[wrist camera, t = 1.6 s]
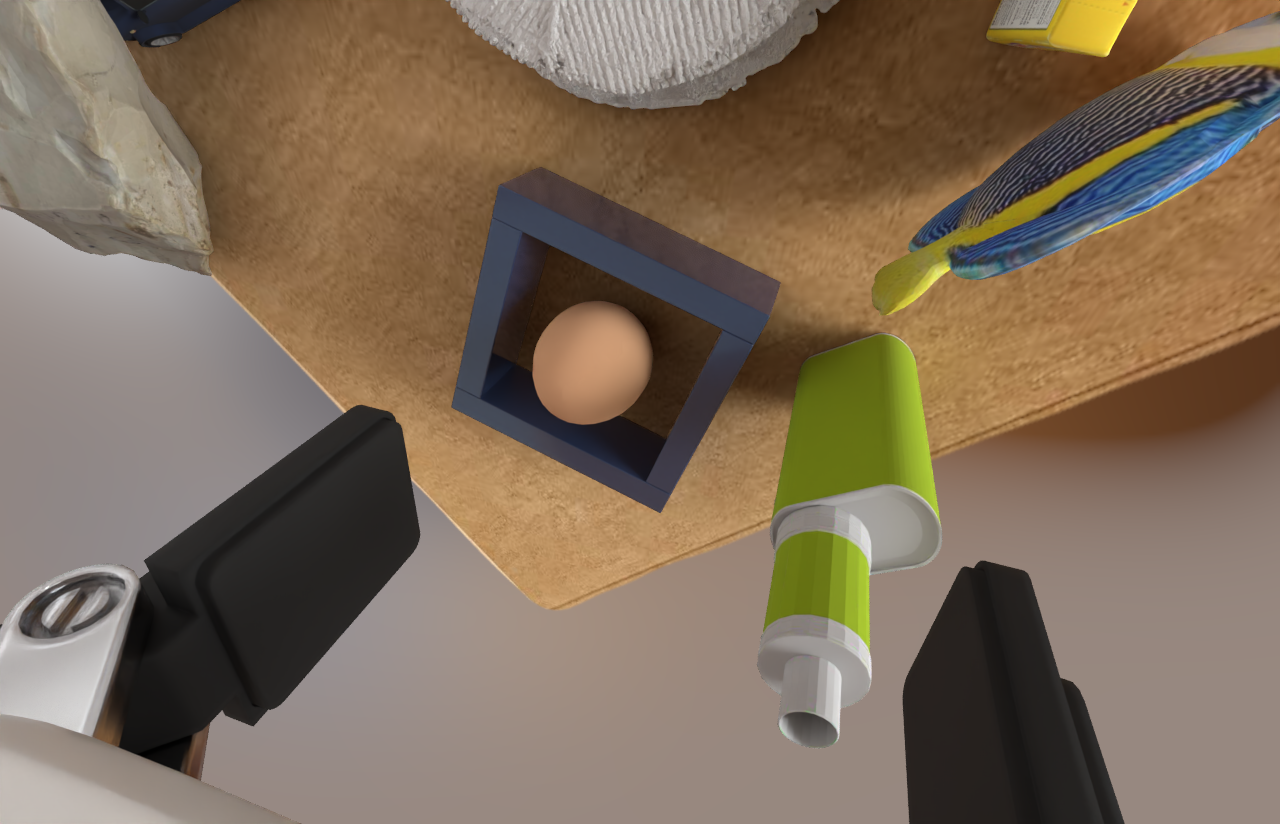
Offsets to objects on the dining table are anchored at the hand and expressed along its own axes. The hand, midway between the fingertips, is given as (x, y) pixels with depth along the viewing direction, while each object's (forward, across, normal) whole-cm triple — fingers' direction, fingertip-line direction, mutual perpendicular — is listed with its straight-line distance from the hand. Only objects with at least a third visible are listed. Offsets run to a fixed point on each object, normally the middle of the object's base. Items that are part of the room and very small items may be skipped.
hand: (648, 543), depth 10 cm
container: (+23, +8, +8) cm, 26 cm away
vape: (+23, -5, +8) cm, 25 cm away
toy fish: (+23, -10, -4) cm, 26 cm away
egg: (+23, +8, +8) cm, 26 cm away
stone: (+22, +34, -1) cm, 41 cm away
